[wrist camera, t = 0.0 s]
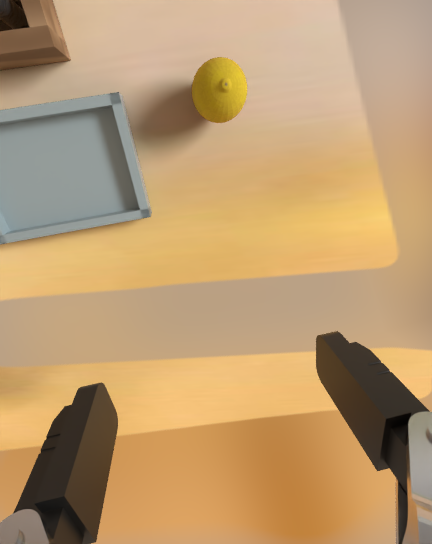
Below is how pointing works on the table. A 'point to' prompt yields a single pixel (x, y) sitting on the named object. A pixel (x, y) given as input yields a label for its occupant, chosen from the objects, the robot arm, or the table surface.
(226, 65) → the lemon
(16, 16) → the peg
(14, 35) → the collar
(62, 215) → the tray
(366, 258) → the table surface
